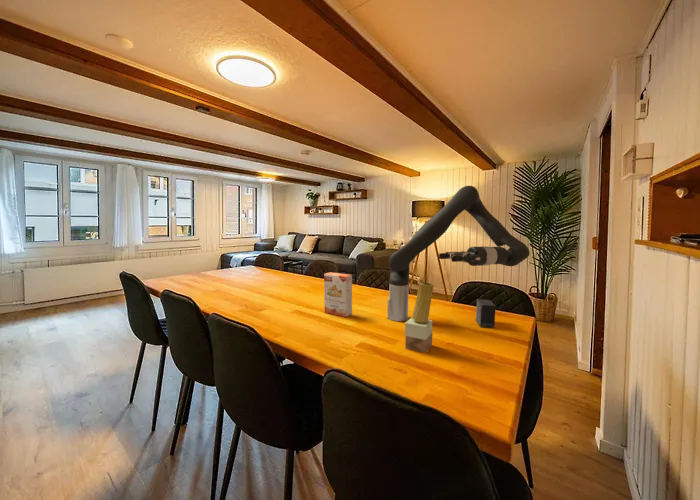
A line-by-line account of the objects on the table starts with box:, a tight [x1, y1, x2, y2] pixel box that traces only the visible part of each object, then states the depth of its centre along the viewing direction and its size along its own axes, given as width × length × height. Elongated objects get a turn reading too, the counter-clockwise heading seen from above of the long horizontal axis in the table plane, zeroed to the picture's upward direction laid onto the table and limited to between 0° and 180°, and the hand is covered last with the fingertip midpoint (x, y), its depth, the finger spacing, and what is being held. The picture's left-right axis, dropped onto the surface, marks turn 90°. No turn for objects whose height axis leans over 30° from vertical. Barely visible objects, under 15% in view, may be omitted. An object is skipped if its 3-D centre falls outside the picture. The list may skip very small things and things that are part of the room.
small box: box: [475, 298, 497, 329], centre depth 142 cm, size 11×6×10 cm, turn 168°
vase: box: [411, 281, 434, 323], centre depth 116 cm, size 6×6×14 cm
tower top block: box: [404, 317, 433, 340], centre depth 116 cm, size 8×8×5 cm
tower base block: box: [405, 333, 433, 353], centre depth 117 cm, size 8×8×5 cm
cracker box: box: [323, 271, 353, 318], centre depth 157 cm, size 14×6×21 cm, turn 55°
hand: (445, 257), depth 116 cm, fingers open, 8 cm apart
